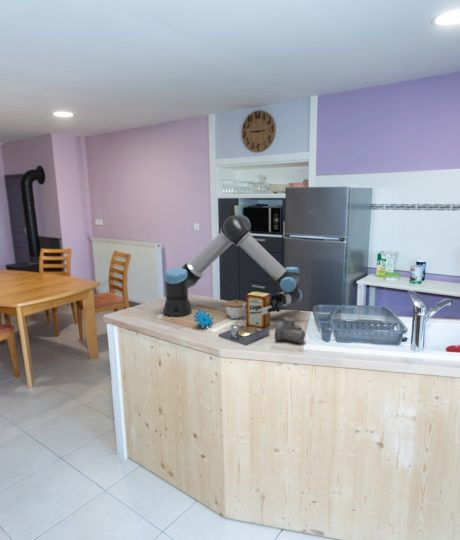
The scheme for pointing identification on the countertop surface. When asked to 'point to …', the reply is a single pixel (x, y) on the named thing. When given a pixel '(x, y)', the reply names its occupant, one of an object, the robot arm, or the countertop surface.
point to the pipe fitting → (289, 331)
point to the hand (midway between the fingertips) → (252, 309)
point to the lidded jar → (235, 308)
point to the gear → (203, 319)
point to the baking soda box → (257, 310)
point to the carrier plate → (245, 334)
